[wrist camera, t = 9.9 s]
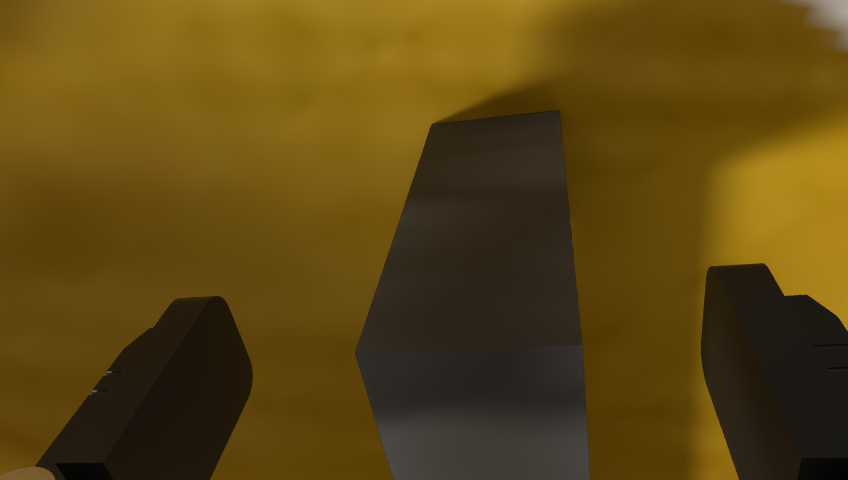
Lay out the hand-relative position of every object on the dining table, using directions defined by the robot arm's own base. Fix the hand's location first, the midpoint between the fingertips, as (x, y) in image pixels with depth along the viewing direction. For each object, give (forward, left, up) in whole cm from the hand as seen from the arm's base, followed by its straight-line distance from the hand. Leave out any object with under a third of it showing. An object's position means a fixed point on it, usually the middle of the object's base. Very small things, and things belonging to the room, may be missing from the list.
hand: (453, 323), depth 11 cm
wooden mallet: (+1, -11, -6) cm, 13 cm away
